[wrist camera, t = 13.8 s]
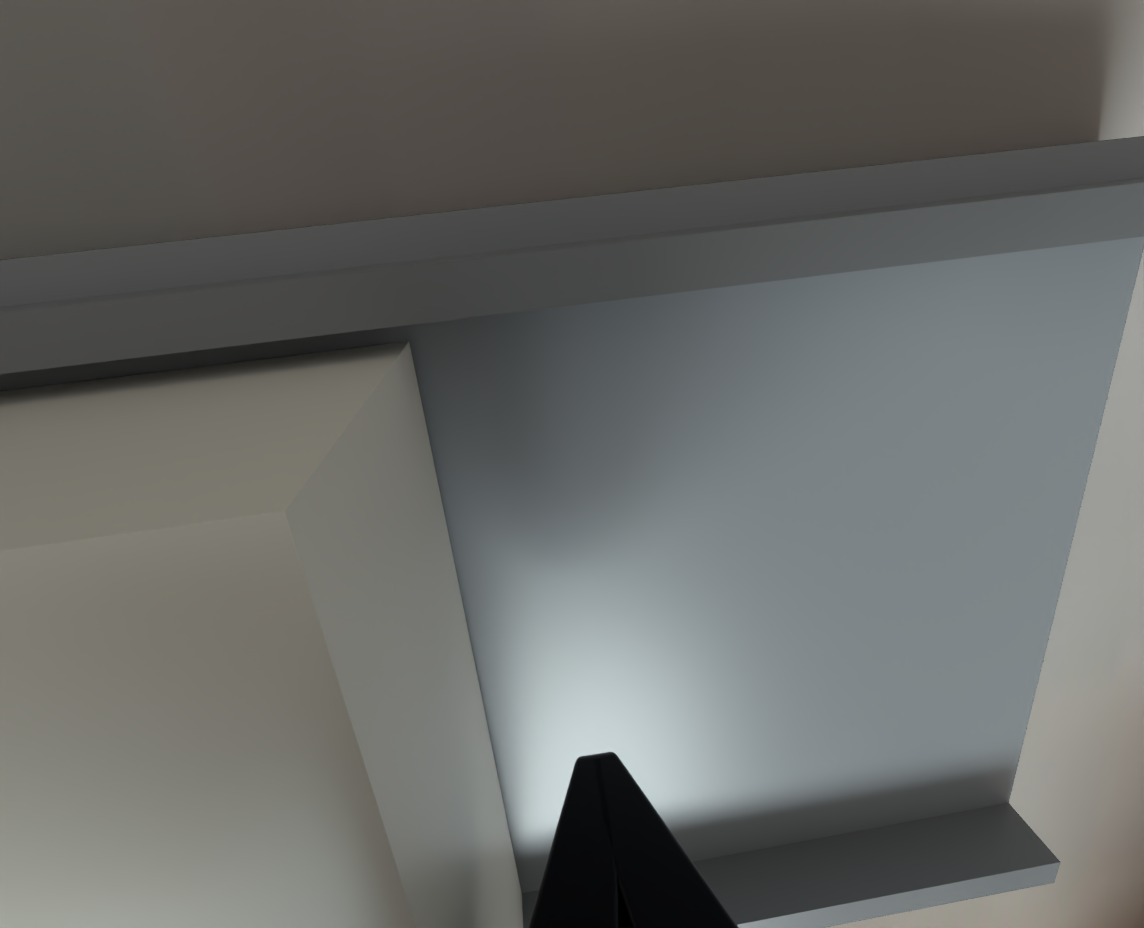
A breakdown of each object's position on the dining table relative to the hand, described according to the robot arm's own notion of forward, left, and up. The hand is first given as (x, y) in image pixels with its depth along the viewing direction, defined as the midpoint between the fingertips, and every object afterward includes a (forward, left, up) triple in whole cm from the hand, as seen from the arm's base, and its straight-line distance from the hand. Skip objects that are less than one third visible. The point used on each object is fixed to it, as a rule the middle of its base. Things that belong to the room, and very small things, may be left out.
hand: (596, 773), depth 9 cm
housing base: (-1, 0, -4) cm, 4 cm away
